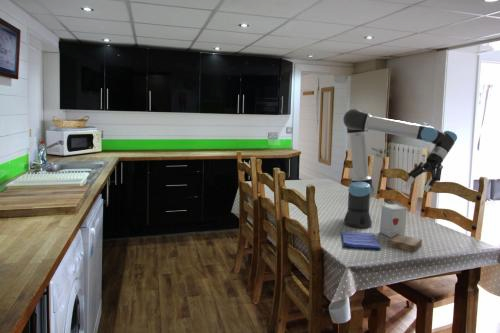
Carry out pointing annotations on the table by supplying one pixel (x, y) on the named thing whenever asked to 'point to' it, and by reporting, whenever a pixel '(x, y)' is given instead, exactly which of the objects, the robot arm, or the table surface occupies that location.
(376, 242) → the dish towel
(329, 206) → the table surface
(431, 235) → the table surface
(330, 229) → the table surface
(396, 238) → the walnut stand
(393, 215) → the supplement box
